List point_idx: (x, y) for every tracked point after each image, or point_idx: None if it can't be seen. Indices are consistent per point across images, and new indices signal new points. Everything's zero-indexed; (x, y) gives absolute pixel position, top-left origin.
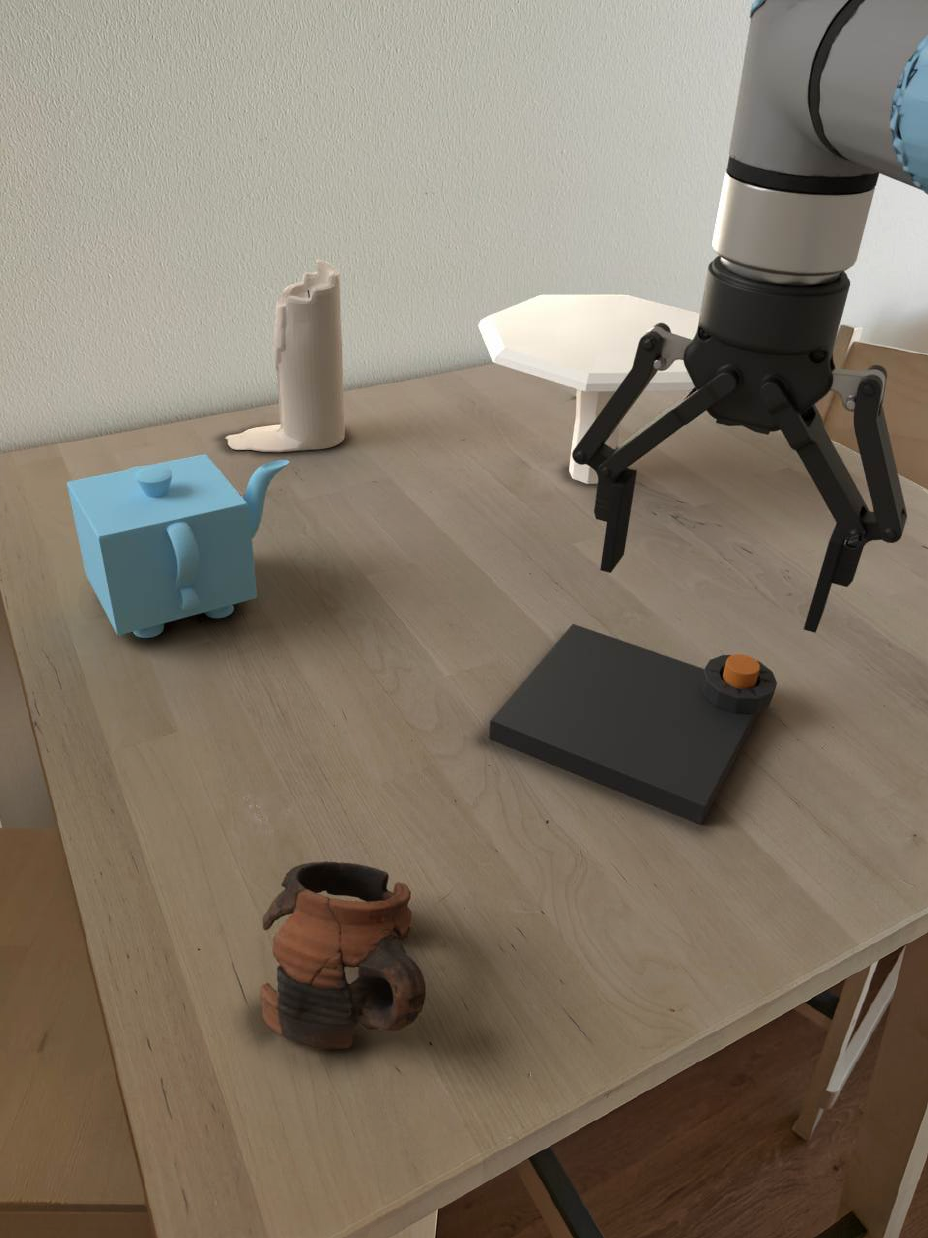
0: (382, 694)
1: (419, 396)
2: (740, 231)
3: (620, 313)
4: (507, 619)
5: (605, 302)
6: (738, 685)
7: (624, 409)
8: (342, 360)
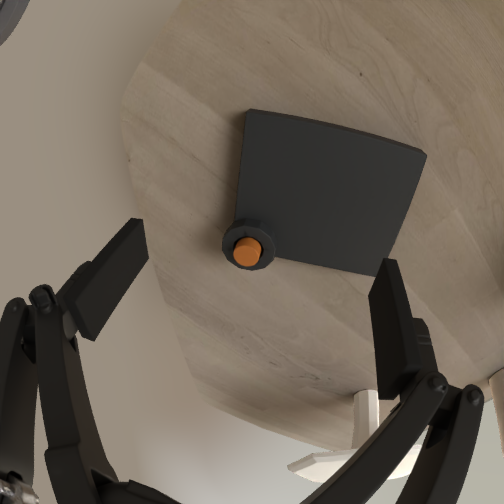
0: (491, 179)
1: None
2: None
3: None
4: (419, 276)
5: None
6: (247, 239)
7: (431, 498)
8: (497, 416)
